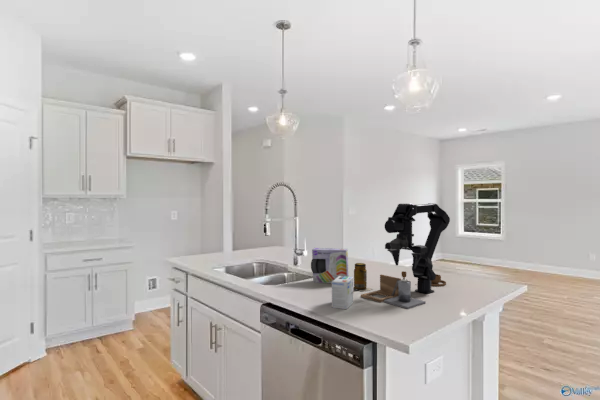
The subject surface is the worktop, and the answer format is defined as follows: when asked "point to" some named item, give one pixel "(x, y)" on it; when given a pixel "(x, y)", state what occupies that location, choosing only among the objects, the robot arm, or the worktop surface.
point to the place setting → (433, 282)
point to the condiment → (360, 277)
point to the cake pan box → (329, 264)
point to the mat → (405, 304)
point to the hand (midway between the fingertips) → (405, 266)
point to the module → (404, 290)
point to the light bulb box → (342, 292)
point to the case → (384, 289)
